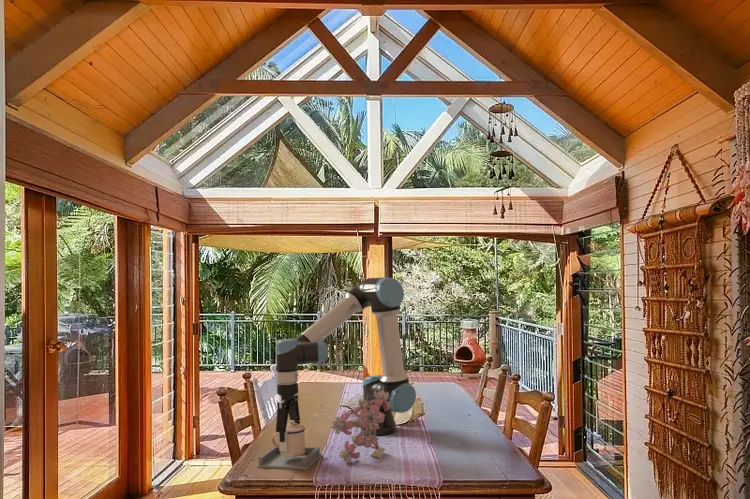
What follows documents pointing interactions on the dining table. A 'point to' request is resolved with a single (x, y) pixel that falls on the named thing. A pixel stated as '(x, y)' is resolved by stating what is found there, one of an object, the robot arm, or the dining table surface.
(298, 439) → the teacup with lid
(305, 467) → the grey shallow square tray
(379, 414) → the flower
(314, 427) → the dining table surface
